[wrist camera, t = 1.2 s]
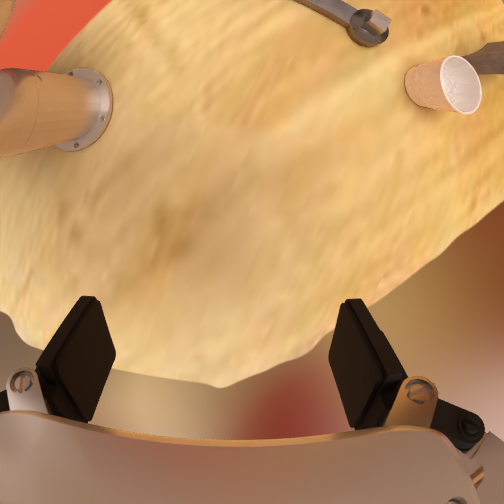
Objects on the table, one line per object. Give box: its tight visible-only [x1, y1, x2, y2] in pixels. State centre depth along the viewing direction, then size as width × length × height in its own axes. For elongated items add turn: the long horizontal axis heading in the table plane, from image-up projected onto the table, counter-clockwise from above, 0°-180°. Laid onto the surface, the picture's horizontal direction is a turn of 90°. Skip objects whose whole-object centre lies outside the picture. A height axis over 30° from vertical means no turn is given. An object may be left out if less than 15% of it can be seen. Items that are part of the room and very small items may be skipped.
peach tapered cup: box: [405, 55, 482, 114], centre depth 29 cm, size 8×8×10 cm
